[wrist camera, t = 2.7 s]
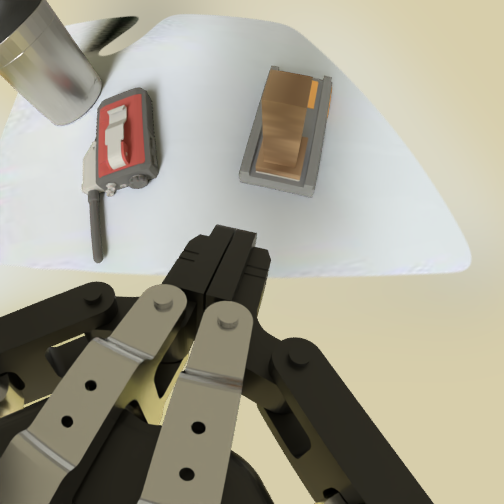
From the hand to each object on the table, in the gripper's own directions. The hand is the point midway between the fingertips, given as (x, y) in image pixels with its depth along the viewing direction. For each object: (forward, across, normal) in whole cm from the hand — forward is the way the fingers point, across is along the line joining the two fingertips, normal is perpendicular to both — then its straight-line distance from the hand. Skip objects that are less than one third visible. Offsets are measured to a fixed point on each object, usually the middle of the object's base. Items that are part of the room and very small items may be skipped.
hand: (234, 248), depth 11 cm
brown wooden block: (+18, 0, +2) cm, 18 cm away
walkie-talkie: (+18, +17, +6) cm, 25 cm away
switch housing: (+22, 0, 0) cm, 23 cm away
